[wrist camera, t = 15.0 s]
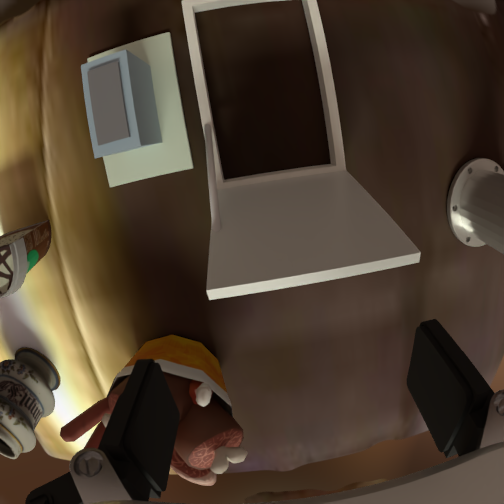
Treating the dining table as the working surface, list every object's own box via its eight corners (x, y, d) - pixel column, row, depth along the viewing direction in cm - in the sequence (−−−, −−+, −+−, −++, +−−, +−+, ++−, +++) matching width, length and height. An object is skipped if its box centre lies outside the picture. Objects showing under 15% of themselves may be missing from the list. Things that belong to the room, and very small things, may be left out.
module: (150, 65, 29) (124, 48, 21) (162, 142, 32) (139, 146, 25) (112, 76, 29) (79, 64, 22) (124, 151, 33) (93, 158, 25)
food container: (11, 274, 38) (-27, 306, 29) (-2, 236, 36) (-45, 262, 26) (71, 261, 38) (33, 297, 28) (57, 217, 35) (12, 243, 26)
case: (308, -8, 27) (356, -92, 10) (343, 202, 36) (420, 263, 19) (184, 7, 27) (143, -77, 11) (223, 222, 37) (209, 301, 20)
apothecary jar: (27, 389, 47) (-12, 454, 30) (2, 338, 42) (-51, 403, 25) (75, 397, 47) (40, 474, 30) (51, 344, 42) (-1, 423, 26)
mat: (170, 33, 28) (169, 31, 28) (193, 167, 34) (193, 168, 34) (89, 59, 29) (87, 58, 28) (111, 186, 34) (109, 187, 34)
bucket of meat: (242, 315, 41) (245, 443, 22) (247, 402, 47) (251, 513, 28) (98, 316, 41) (35, 420, 22) (126, 399, 46) (94, 498, 28)
